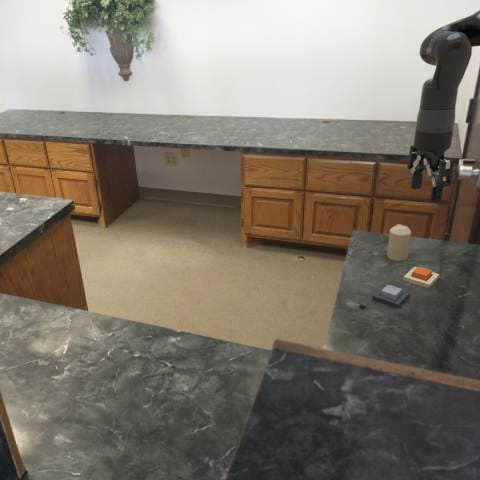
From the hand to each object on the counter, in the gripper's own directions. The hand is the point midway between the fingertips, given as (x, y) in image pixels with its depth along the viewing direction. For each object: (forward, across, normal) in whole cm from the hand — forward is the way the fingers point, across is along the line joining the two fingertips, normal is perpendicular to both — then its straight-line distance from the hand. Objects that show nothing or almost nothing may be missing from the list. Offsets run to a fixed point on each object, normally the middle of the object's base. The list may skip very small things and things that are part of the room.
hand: (425, 194), depth 120 cm
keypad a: (+27, +2, -3) cm, 27 cm away
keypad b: (+27, -4, +8) cm, 29 cm away
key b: (+24, -4, +8) cm, 26 cm away
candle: (+27, +18, -5) cm, 33 cm away
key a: (+25, +2, -3) cm, 25 cm away
